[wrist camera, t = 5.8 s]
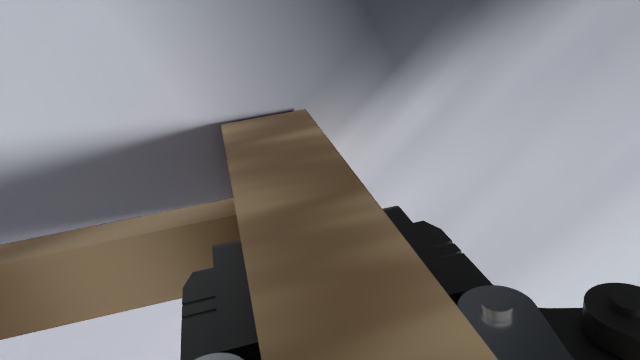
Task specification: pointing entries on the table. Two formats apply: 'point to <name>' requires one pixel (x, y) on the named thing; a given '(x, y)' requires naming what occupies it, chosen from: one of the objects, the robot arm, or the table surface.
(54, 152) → the table surface
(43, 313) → the oak rake
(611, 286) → the robot arm
